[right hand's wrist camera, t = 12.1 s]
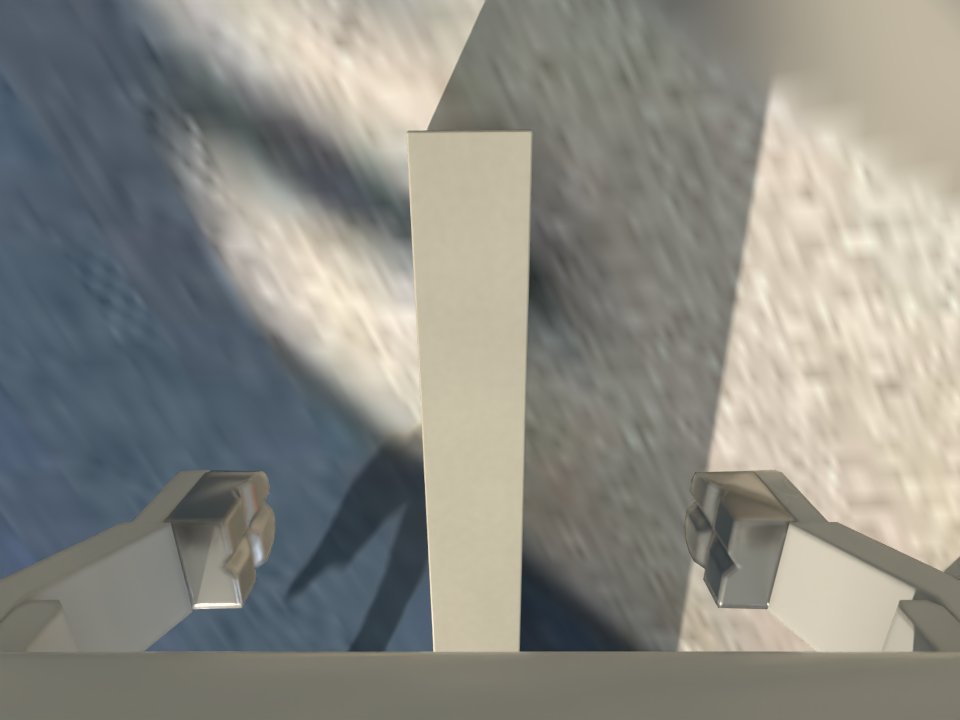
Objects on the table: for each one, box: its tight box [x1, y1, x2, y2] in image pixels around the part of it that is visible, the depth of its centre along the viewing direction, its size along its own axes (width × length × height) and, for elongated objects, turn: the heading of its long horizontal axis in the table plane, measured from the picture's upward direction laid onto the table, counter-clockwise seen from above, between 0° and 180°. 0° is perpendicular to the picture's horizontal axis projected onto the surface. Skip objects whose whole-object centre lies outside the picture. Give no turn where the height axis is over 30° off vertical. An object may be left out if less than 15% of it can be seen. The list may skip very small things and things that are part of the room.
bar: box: [407, 130, 533, 652], centre depth 38 cm, size 64×5×8 cm, turn 0°
